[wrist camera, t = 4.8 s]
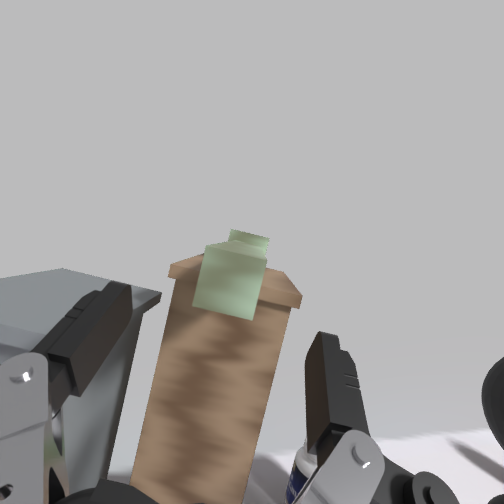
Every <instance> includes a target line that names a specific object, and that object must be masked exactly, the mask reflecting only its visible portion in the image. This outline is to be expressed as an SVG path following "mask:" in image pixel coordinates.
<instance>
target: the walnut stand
mask: <svg viewBox="0 0 504 504" xmlns="http://www.w3.org/2000/svg"><path fill="white" fill-rule="evenodd" d="M203 257H204V253H203V254H201V255H197V256H194V257H191V258H188V259H185V260H182V261H179V262H176V263H173V264H171V265H170V270H169V274H168V277H169V278H173V279H176V281H175V286H174V290H173V295H172V299H171V304H170V308H169V312H168V317H167V321H166V325H165V330H164V335H163V339H162V343H161V347H160V352H159V356H158V361H157V365H156V369H155V374H154V378H153V382H152V387H151V391H150V396H149V400H148V404H147V409H146V413H145V418H144V422H143V426H142V431H141V436H140V440H139V444H138V449H137V453H136V457H135V462H134V466H133V470H132V475H131V479H130V484H129V485H131V486H134V487H135V488H137V489H138V490H140V491H141V492H143V493H144V494H146V495H147V496H149V497H150V498H152V499H153V500H155V501H156V502H158V503H159V504H194V503H205V504H242V501H243V497H244V493H245V489H246V485H247V481H248V477H249V473H250V469H251V465H252V461H253V457H254V453H255V449H256V445H257V441H258V437H259V433H260V429H261V426H262V421H263V417H264V414H265V410H266V406H267V402H268V398H269V394H270V390H271V386H272V382H273V378H274V374H275V370H276V366H277V362H278V358H279V354H280V350H281V346H282V342H283V339H284V334H285V330H286V327H287V323H288V318H289V315H290V311H291V307H293V308H297V309H299V308H300V304H301V300H302V295H301V294H300V292H299V291H298V290H297V288H296V287H295V286H294V285H293V283H292V282H291V281H290V280H289V278H288V277H287V276H286V274H284V272H281V271H277V270H273V269H269V268H265V272H264V276H263V280H262V284H261V288H260V292H259V296H258V300H257V304H256V308H255V312H254V316H253V321H252V320H248V319H244V318H239V317H235V316H231V315H227V314H223V313H219V312H215V311H210V310H206V309H202V308H198V307H194V306H192V304H193V300H194V295H195V291H196V287H197V282H198V278H199V274H200V270H201V265H202V261H203Z"/></svg>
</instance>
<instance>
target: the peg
mask: <svg viewBox="0 0 504 504" xmlns="http://www.w3.org/2000/svg"><path fill="white" fill-rule="evenodd" d="M268 242H269V238H266V237H262V236H258V235H254V234H250V233H246V232H241V231H237V230H233V229H231V231H230V235H229V240H228V242H223V243H218V244H212V245H207V246H206V248H205V253H204V257H203V261H202V265H201V270H200V274H199V278H198V282H197V287H196V291H195V295H194V300H193V304H192V306H194V307H198V308H202V309H206V310H210V311H215V312H219V313H223V314H227V315H231V316H235V317H239V318H244V319H248V320H252V321H253V316H254V312H255V308H256V304H257V300H258V296H259V292H260V288H261V284H262V280H263V276H264V272H265V268H266V263H267V259H266V257H265V254H266V250H267V246H268Z"/></svg>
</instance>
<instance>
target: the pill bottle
mask: <svg viewBox="0 0 504 504" xmlns="http://www.w3.org/2000/svg"><path fill="white" fill-rule="evenodd" d="M316 467H317V456H316V455H312V454H308V453H307V436H306V439H305V442H304V446H303V447H301V448H300V449H299V450H298V451H297V453H296V456H295V460H294V464H293V467H292V471H291V475H290V479H289V483H288V486H287V490H286V495H285V504H292V503H293V501H294V500H295V498H296V497H297V495H298V494H299V492H300V491H301V489H302V488H303V486H304V485H305V483H306V482H307V480H308V479H309V478H310V476H311V475H312V473H313V472H314V470H315V469H316Z"/></svg>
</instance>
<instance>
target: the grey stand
mask: <svg viewBox="0 0 504 504" xmlns="http://www.w3.org/2000/svg"><path fill="white" fill-rule="evenodd" d="M110 281H112V280H108V279H104V278H100V277H95V276H92V275H88V274H84V273H79V272H75V271H71V270H67V269H63V268H62V269H55V270H50V271H44V272H37V273H31V274H26V275H19V276H13V277H7V278H1V279H0V364H3V363H4V362H5V361H7V360H8V359H10V358H12V357H14V356H16V355H19V354H23V353H29V352H30V351H31V350H32V349H33V348H34V347H35V346H36V345H37V344H38V343H39V342H40V341H41V340H42V339H43V338H44V337H45V336H46V335H47V334H48V332H49V331H50V330H51V329H52V328H53V327H54V326H55V325H56V324H57V323H58V322H59V321H60V320H61V319H62V318H63V317H65V314H66V313H67V312H68V311H69V310H70V309H72V308H73V306H74V305H75V304H76V303H77V302H78V301H79V300H80V299H81V297H83V296H85V295H86V294H88V293H90V292H92V291H94V290H98V291H102V290H103V288H104V287H105V286H106V285H107V284H108V283H109V282H110ZM116 282H117V281H116ZM131 287H132V304H133V313H132V317H131V320H130V322H129V324H128V326H127V327H126V329H125V330H124V332H123V333H122V335H121V336H120V338H119V339H118V341H117V342H116V344H115V345H114V347H113V348H112V350H111V351H110V353H109V354H108V356H107V357H106V359H105V360H104V362H103V364H102V365H101V367H100V368H99V370H98V371H97V373H96V374H95V376H94V377H93V379H92V380H91V382H90V383H89V385H88V386H87V388H86V389H85V391H84V392H83V394H82V395H81V397H77V396H73V395H69V396H68V398H67V399H66V401H65V402H64V403H63V421H64V444H65V462H66V468H67V473H68V481H69V495H71V494H73V493H76V492H78V491H81V490H85V489H89V488H96V485H97V483H98V481H99V479H100V478H102V479H107V475H108V470H109V466H110V461H111V456H112V452H113V448H114V443H115V439H116V434H117V429H118V425H119V421H120V416H121V412H122V407H123V403H124V398H125V394H126V389H127V385H128V380H129V375H130V371H131V366H132V362H133V358H134V353H135V348H136V344H137V340H138V335H139V331H140V326H141V321H142V317H143V313H145V312H146V311H148V310H149V309H151V308H152V307H153V306H155V305H156V304H158V303H159V302H160V299H161V294H162V293H161V292H158V291H154V290H150V289H146V288H141V287H137V286H133V285H131Z"/></svg>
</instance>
